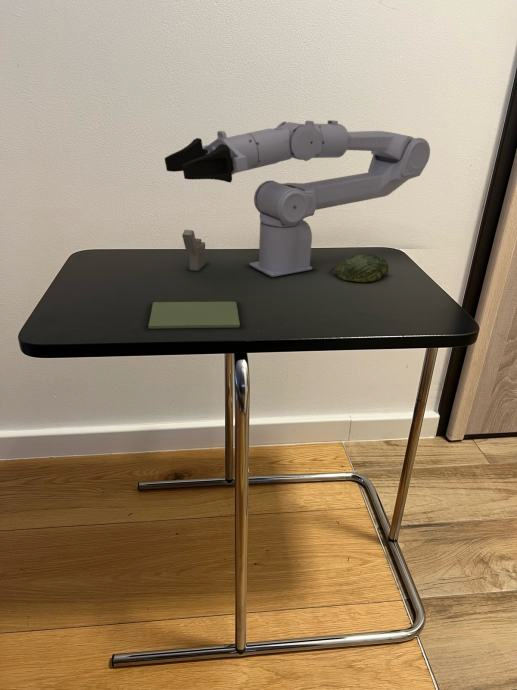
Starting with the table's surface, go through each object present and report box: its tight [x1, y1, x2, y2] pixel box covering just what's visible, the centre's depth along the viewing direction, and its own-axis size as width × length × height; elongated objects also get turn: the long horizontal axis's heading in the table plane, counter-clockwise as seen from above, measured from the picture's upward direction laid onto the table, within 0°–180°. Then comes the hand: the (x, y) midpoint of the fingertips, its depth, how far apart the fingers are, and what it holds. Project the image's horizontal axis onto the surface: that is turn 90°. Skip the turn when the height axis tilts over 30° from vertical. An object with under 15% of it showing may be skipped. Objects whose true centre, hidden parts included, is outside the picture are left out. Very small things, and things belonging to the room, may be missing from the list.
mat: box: [148, 301, 241, 330], centre depth 82 cm, size 13×9×1 cm
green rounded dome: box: [332, 253, 389, 283], centre depth 101 cm, size 10×4×10 cm
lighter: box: [181, 229, 206, 272], centre depth 100 cm, size 7×2×8 cm, turn 165°
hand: (174, 168), depth 86 cm, fingers open, 7 cm apart
